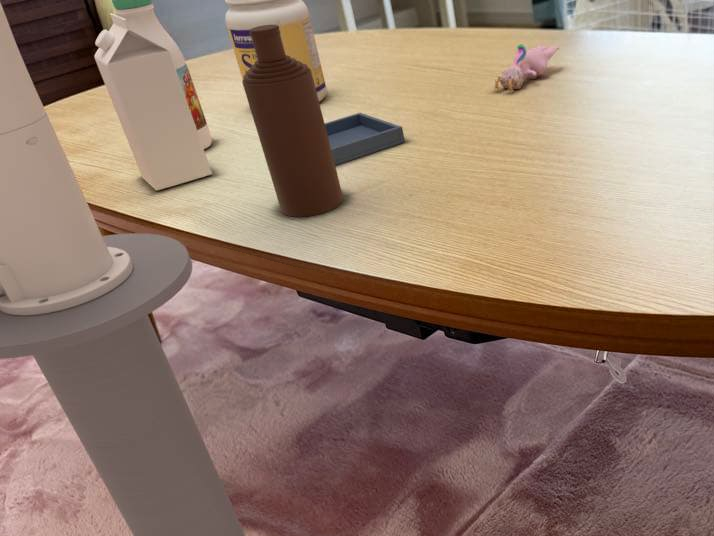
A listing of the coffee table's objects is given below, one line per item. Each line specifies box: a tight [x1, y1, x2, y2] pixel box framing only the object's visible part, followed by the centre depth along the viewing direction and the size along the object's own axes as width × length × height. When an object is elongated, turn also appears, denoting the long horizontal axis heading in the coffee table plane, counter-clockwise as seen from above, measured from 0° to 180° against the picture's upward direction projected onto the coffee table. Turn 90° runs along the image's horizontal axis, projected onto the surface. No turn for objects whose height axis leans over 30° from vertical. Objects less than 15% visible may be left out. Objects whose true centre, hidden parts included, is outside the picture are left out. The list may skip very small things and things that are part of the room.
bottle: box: [241, 25, 344, 218], centre depth 85 cm, size 7×7×18 cm
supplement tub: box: [224, 0, 327, 103], centre depth 123 cm, size 12×12×17 cm
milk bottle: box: [111, 0, 213, 150], centre depth 107 cm, size 8×8×20 cm
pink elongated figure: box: [494, 43, 560, 93], centre depth 123 cm, size 6×6×15 cm
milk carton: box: [94, 12, 213, 191], centre depth 98 cm, size 7×7×19 cm
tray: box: [324, 112, 406, 166], centre depth 106 cm, size 13×11×2 cm
